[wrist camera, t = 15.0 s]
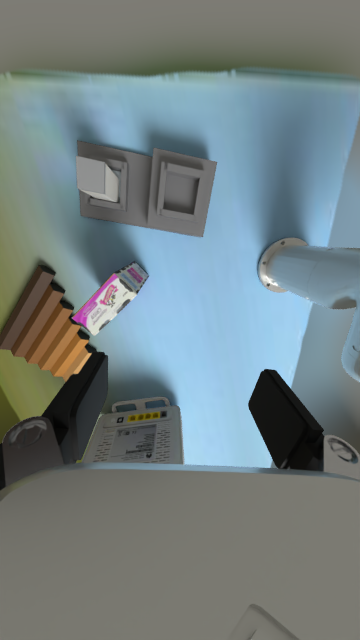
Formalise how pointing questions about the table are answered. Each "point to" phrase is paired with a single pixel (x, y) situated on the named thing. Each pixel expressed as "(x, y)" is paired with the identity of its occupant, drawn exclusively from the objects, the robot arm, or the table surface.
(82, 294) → the table surface
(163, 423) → the network device
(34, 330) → the pan flute
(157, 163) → the stepped socket base
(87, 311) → the candy bar box
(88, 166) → the plug
